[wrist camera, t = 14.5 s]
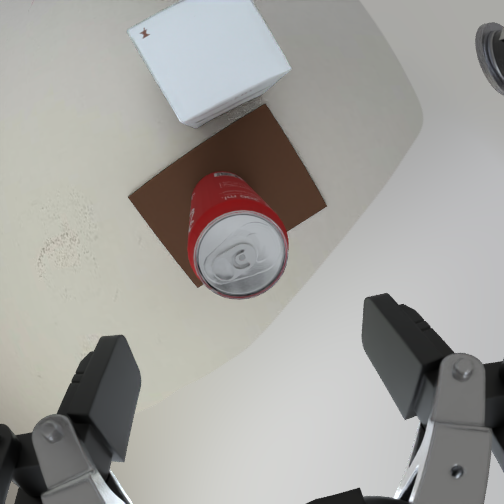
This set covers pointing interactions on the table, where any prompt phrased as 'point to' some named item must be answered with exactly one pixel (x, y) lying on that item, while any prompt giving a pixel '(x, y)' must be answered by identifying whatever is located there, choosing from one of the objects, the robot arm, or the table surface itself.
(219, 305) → the table surface
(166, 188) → the mat
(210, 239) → the beverage can
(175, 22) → the white packaging box
